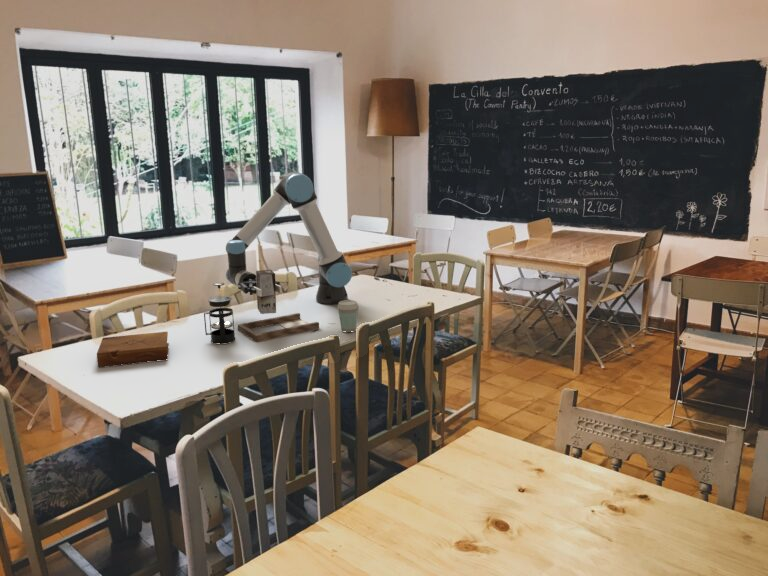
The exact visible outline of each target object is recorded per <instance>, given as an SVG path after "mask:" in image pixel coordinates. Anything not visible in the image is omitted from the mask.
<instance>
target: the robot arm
mask: <svg viewBox="0 0 768 576" xmlns="http://www.w3.org/2000/svg"><path fill="white" fill-rule="evenodd" d="M272 192H273V193H272V195H271V196H270V197H269V198H268V199H267V200H266V201H265V202H264V203H263V205H261V206H260V207H259V209H257V211H256V212H255V213H254V214H253V215H252V217H250V219H249V220H248V221H247V222H246V223H245V224H244V225H243V227H241V228H240V230H239V231H238V232H237V233H236V234H235V236H233V237H232V239H230V240H228V241H227V243H226V245H225V252H226V253H227V261H228V268H227V270H226V272H225V278H226V280H227V281H228V282H230V283H231V284H232V285H234V286H237V288H238V289H237V290H240V291H242V292H243V293H244V294H246V295H247V294H249V295H250V296H252V295H256V296H257V295H258V296H260V297H261V296H262V290H261V289H259V288H257V284H256V273H252V272H250V271H248V270H247V259H246V258H247V257H246V250H247V249H248V248H249V247H250V245H251V244H252V243H253V242H254V241H255V240H256V239H257V237H259V235H260V234H261V233H262V232H263V231H264V230H265V229H266V228H267V227H268V225H269V224H270V223H271V222H272V221H273V219H275V217H277V215H278V214H279V213H280V212H281V211H282V210H283V209H284V208H285V207H286V206H287V205H288V206H289V205H291V207H292V209H293V210H296V211H297V212H298V214H299V217H300V219H301V221H302V223H303V224H304V227H305V229H306V232H307V234H308V236H309V237H310V240H311V243H312V244H313V246H314V247H313V248H315V251H316V253H317V255H318V259H317V262H318V263H317V264H318V289H317V291H316V295H315V301H316V302H317V303H318V304H322V303H323V305H336V304H338V303H339V302H340V301H344V300H349V299H348V297H349V296H348V292H347V290H346V287H345V286H347V285H348V284H349V283H350V282H351V280H352V277H353V271H352V268H351V266H350V265H348V263H347V261H346V259H345V256H344V254H343V252H342V251H338V249H337V246H336V244H335V242H334V240H333V238H332V236H331V233H330V231H329V229H328V226H327V224H326V222H325V220H324V218H323V215H322V214H321V212H320V211H321V210H320V209H319V207H318V204H317V200H318V197H317V194H316V192H315V189H314V183H313V181H312V180H311V178H310V177H309V176H308V175H307V174H304V173H301V172H298V171H291V172H288V173H287V174H285V175H284V176H283V178H281V180H280V181H279V183H278V184H277V186H275V188H274V189H273V190H272ZM275 290H276V293H279V294H282V293H283V290H282V286H281V283H280V281H278V280H277V281H276V280H275Z"/></svg>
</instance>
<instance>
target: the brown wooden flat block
mask: <svg viewBox="0 0 768 576" xmlns="http://www.w3.org/2000/svg"><path fill="white" fill-rule="evenodd" d="M168 336H169V335H168V331H159V332H148V333H138V334H128V335H119V336H118V335H117V336H116V335H115V336H108V337H107V336H106V337H102V339H101V342H100V344H99V347H98V349H97V352H96V361H97V368H98V367H99V368H106V367H105V366H109V367H114V366H113V365H118V366H122V365H121V364H127V365H133V364H132V363H136V364H140V363H139V362H146V363H148V362H147V361H155V362H158V361H157V360H164V361H167V360H166V359H169V348H168V346H170V343H169V342H168ZM167 355H168V356H167Z"/></svg>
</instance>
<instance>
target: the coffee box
mask: <svg viewBox="0 0 768 576" xmlns="http://www.w3.org/2000/svg"><path fill="white" fill-rule="evenodd" d="M255 275H256V284H257V288H259V289H261V290H262V296H261V297H260V296H258V295H256V300H257V301H256V303H257V304H256V306H257V310H258V312H259V313H260V315H265V314H266V315H267V314H276V313H277V299H276V298H277V297H276V295H277V294H276V293H277V292H276V290H275V281H276V273H275V271H273V270H272V269H263V270H262V269H261V270H255Z"/></svg>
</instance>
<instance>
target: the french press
mask: <svg viewBox="0 0 768 576" xmlns="http://www.w3.org/2000/svg"><path fill="white" fill-rule="evenodd" d="M224 285H225V283H224V282H216V283H213V286H214V287H217V289H218V294H219V295H216V296H211V297H209V298H208V299H207V301H208V302H209V306H210V307H213V309H210V310H209V311H207V312H203V318H204V320H203V321H204V330H205V335H206V336H210V342H211V343H212V342H213V343H212V344H214V343H220V344H219V345H222V344H221V343H227V344H230V343H229V342H231V343H233V342H235V341H236V336H235V335H236V334H235V325H234V324H235V321H234V319H232V322H231V321H225V318H227V317H230V316H232V317H234V310H233V309H232V308H230V307H228V305H230V302H231V301H232V300H233V298H232V296H228V295H221V286H224ZM224 312H227V313H224ZM206 315H208V316H209V319H211V318H218V320H219V321H217V322H214V323H212V322H211V320H209V328H210V329H209V330H210V332H208V331H207V322H206ZM211 323H212V324H211ZM232 328H233V329H232ZM212 329H214V330H212Z"/></svg>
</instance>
